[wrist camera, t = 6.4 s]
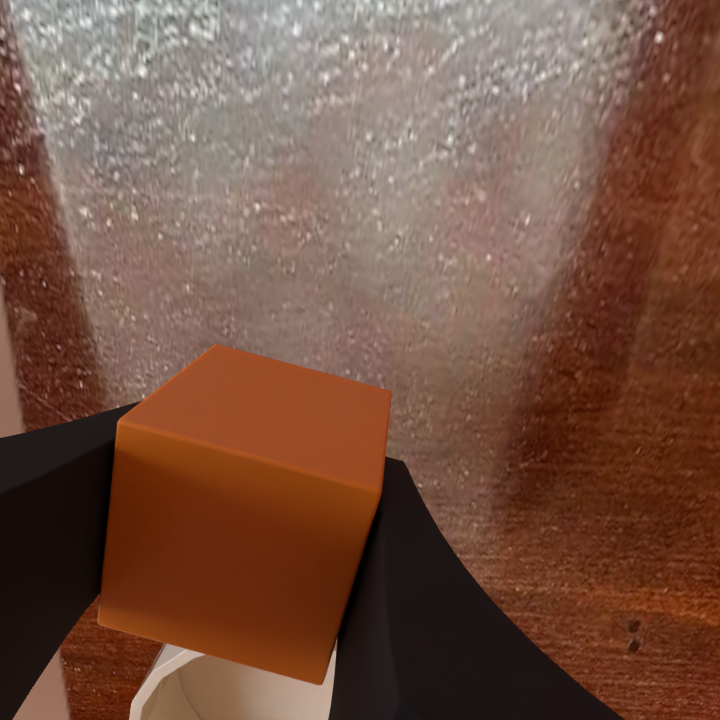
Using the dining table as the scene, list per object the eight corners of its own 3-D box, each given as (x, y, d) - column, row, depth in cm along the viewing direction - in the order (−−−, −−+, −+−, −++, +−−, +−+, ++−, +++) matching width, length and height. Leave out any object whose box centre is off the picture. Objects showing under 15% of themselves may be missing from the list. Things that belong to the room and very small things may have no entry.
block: (190, 494, 13) (94, 626, 9) (214, 342, 11) (115, 418, 7) (349, 538, 12) (322, 688, 9) (392, 389, 11) (382, 492, 7)
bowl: (159, 725, 22) (114, 821, 19) (192, 525, 18) (145, 599, 15) (397, 791, 22) (394, 899, 18) (474, 602, 18) (488, 692, 15)
